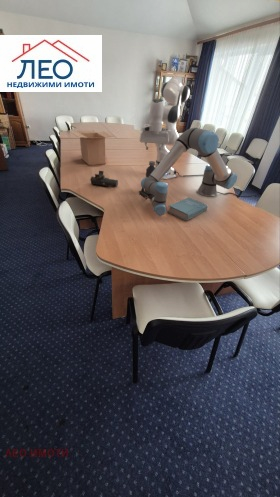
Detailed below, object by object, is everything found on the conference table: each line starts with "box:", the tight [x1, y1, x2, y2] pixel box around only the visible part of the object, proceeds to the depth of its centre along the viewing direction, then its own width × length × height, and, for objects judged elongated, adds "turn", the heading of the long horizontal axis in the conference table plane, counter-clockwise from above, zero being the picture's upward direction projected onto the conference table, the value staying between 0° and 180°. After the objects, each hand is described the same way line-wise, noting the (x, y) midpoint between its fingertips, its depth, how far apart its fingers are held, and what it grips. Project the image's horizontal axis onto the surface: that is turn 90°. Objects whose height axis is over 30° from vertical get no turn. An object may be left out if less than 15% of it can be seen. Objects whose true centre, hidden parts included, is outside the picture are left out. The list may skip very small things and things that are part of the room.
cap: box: [148, 160, 156, 167], centre depth 162 cm, size 4×4×2 cm
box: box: [70, 129, 114, 166], centre depth 229 cm, size 44×36×27 cm
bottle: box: [144, 165, 155, 193], centre depth 169 cm, size 8×8×24 cm
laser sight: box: [89, 170, 119, 188], centre depth 180 cm, size 10×22×10 cm, turn 78°
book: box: [167, 196, 208, 222], centre depth 151 cm, size 23×16×5 cm
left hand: (153, 149), depth 157 cm, fingers open, 8 cm apart
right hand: (151, 188), depth 166 cm, fingers open, 13 cm apart
